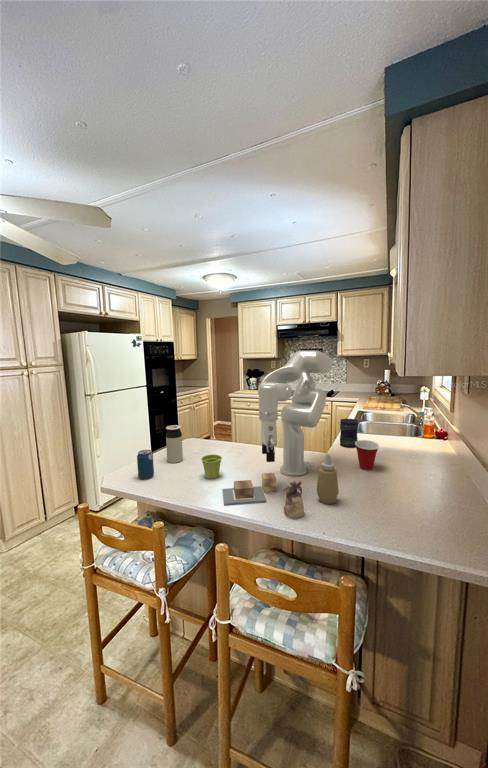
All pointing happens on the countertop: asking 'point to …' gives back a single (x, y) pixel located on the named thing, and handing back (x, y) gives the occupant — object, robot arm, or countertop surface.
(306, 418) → the robot arm
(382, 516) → the countertop surface
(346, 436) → the storage jar
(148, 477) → the soda can
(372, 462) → the plastic cup
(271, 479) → the oak cube
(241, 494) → the walnut base
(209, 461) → the plant pot
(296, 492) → the figurine
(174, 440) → the travel mug
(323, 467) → the squeeze bottle
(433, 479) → the countertop surface
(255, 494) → the slate mat
